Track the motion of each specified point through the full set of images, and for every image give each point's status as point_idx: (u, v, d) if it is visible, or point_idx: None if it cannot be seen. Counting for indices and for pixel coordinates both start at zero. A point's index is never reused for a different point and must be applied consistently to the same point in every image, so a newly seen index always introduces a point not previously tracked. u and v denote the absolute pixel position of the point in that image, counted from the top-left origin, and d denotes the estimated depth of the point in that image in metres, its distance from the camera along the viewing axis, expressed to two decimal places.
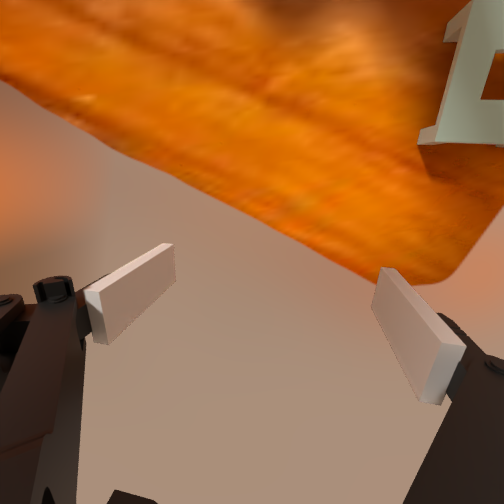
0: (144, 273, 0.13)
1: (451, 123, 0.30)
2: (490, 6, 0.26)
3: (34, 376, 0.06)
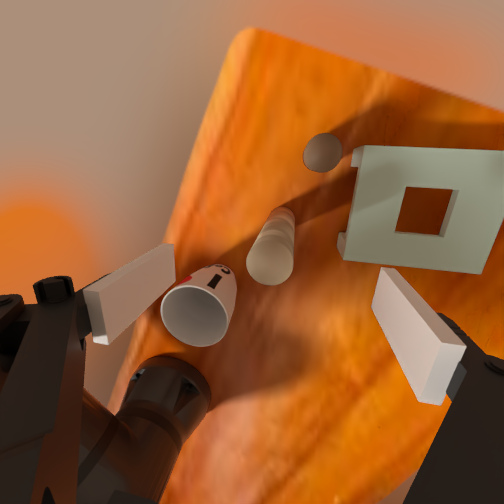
0: (144, 273, 0.13)
1: (463, 260, 0.26)
2: (354, 245, 0.27)
3: (34, 376, 0.06)
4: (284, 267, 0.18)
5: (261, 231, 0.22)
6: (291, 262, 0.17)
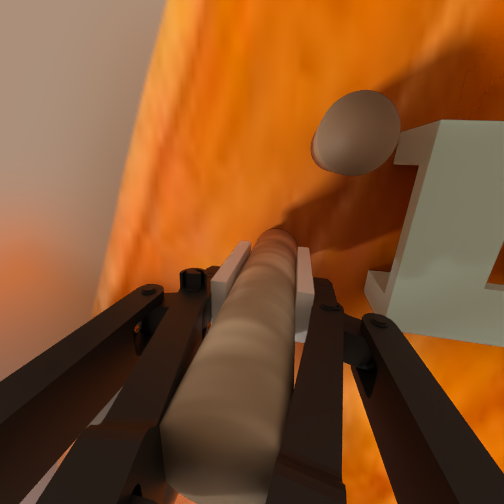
0: (240, 267, 0.15)
1: None
2: (404, 306, 0.15)
3: (160, 358, 0.07)
4: (263, 484, 0.06)
5: (222, 308, 0.10)
6: None
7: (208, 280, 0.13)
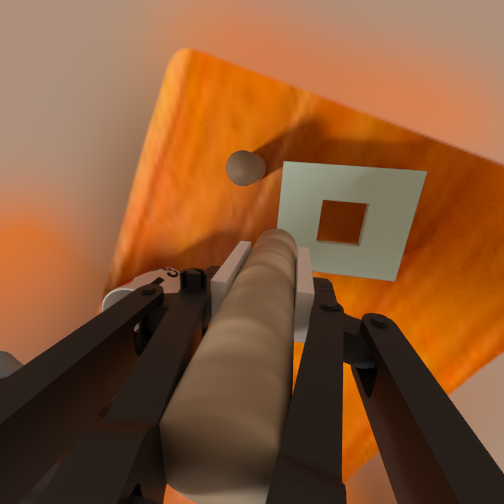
0: (240, 267, 0.15)
1: (378, 268, 0.28)
2: None
3: (160, 358, 0.07)
4: (261, 482, 0.06)
5: (221, 307, 0.10)
6: None
7: (208, 280, 0.13)
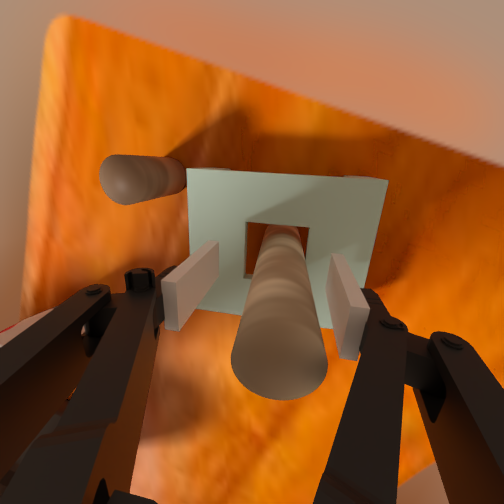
0: (201, 267, 0.14)
1: None
2: None
3: (112, 360, 0.07)
4: (308, 372, 0.09)
5: (257, 275, 0.13)
6: (324, 363, 0.08)
7: None
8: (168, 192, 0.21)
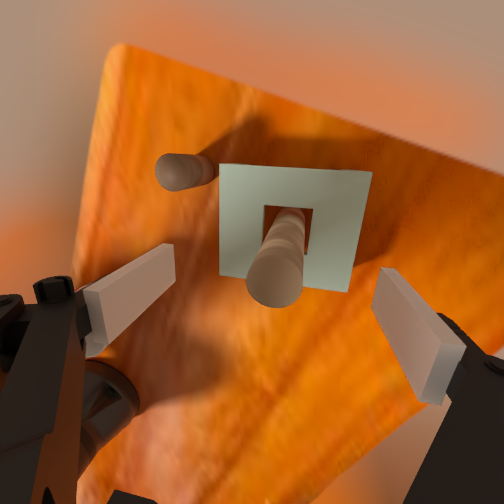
0: (144, 273, 0.13)
1: (329, 278, 0.26)
2: (226, 261, 0.27)
3: (34, 376, 0.06)
4: (291, 288, 0.15)
5: (266, 239, 0.19)
6: (300, 282, 0.14)
7: None
8: (201, 183, 0.27)
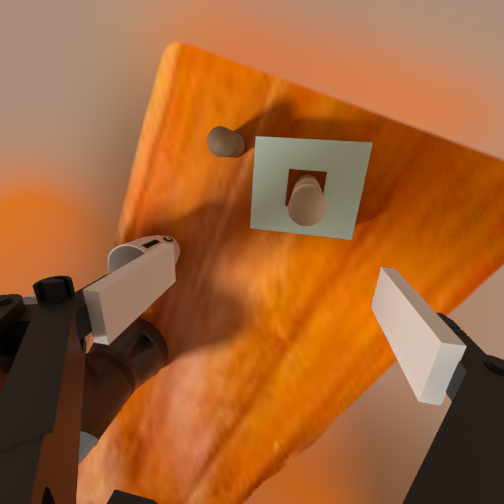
0: (144, 273, 0.13)
1: (337, 228, 0.33)
2: (256, 216, 0.34)
3: (34, 376, 0.06)
4: (319, 210, 0.22)
5: (296, 187, 0.26)
6: (325, 206, 0.22)
7: None
8: (237, 153, 0.34)
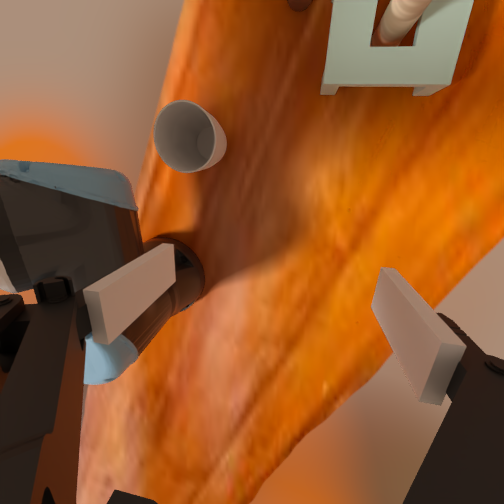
0: (144, 273, 0.13)
1: (433, 70, 0.28)
2: (333, 65, 0.29)
3: (34, 376, 0.06)
4: None
5: None
6: None
7: None
8: None
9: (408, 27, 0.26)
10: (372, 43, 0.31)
